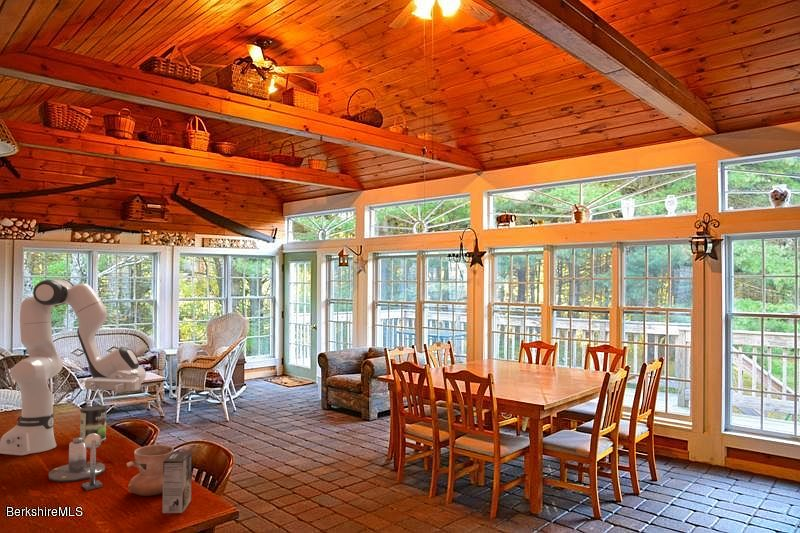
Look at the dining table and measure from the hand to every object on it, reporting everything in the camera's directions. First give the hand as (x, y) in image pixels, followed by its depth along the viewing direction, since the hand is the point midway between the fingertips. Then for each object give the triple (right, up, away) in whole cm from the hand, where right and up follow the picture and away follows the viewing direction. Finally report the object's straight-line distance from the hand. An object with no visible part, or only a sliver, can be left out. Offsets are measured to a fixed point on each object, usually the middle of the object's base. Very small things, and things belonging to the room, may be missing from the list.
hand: (102, 387), depth 219 cm
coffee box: (+46, -29, -42) cm, 69 cm away
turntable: (-2, -29, -13) cm, 32 cm away
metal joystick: (+10, -29, -26) cm, 40 cm away
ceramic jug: (+33, -29, -29) cm, 53 cm away
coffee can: (-20, -30, +29) cm, 46 cm away
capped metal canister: (-2, -28, -13) cm, 30 cm away
